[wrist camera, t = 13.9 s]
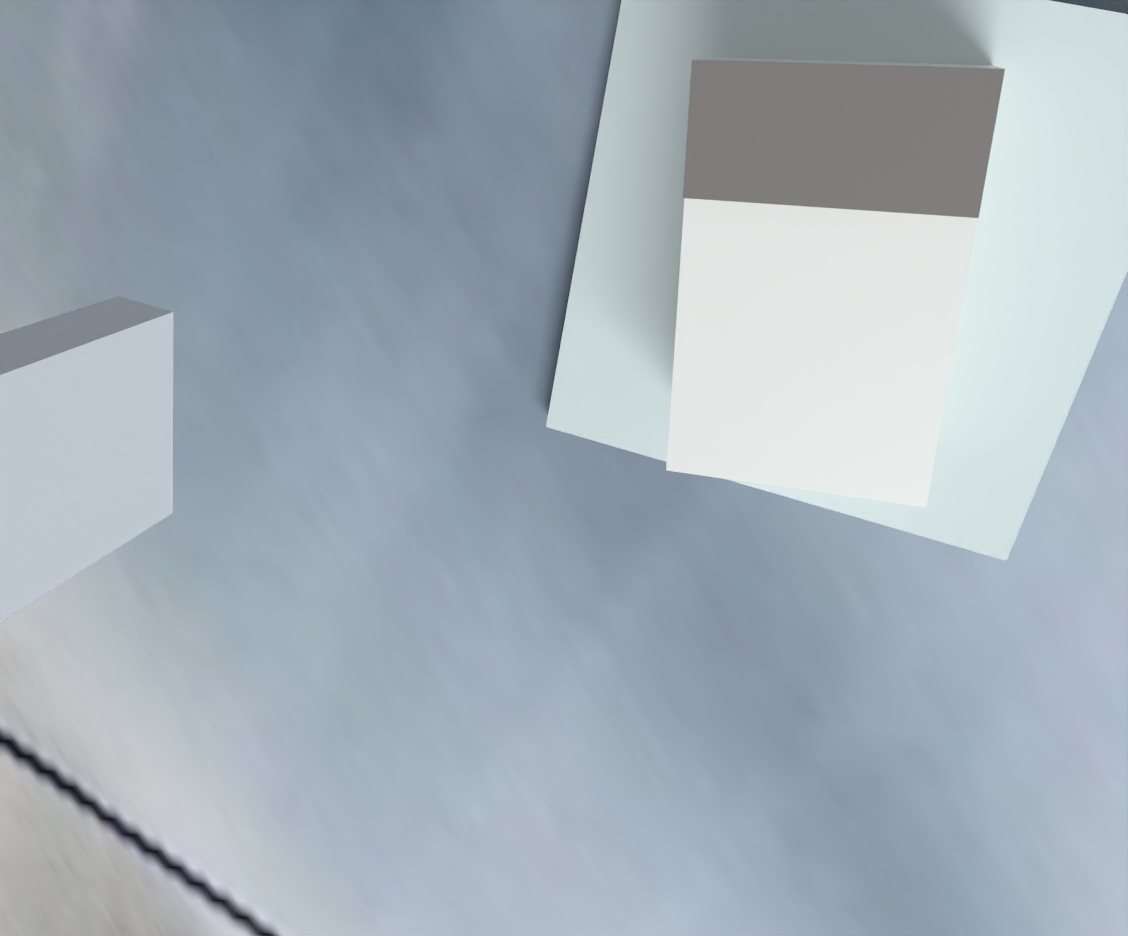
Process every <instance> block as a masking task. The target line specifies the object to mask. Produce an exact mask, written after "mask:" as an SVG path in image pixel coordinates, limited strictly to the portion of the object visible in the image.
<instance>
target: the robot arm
mask: <svg viewBox="0 0 1128 936" xmlns="http://www.w3.org/2000/svg"><path fill="white" fill-rule="evenodd" d="M172 513H173V312H172V311H168V310H165V309H161V308H158V307H154V306H151V305H147V304H144V303H140V302H137V301H133V300H130V299H126V298H123V297H119V296H118V297H115V298H112V299H109V300H106V301H103V302H99V303H96V304H93V305H90V306H87V307H84V308H81V309H78V310H75V311H71V312H68V313H65V314H62V315H59V316H56V317H53V318H50V319H46V320H43V321H40V322H37V323H34V324H31V325H28V326H25V327H21V328H18V329H15V330H12V331H9V332H6V333H3V334H0V622H2V621H4V620H5V619H7V618H8V617H10V616H11V615H13V614H15V613H16V612H18V611H19V610H21V609H22V608H24V607H26V606H27V605H29V604H30V603H32V602H33V601H35V600H37V599H38V598H40V597H41V596H43V595H44V594H46V593H48V592H49V591H51V590H52V589H54V588H55V587H57V586H59V585H60V584H62V583H63V582H65V581H66V580H68V579H70V578H71V577H73V576H74V575H76V574H77V573H79V572H81V571H82V570H84V569H85V568H87V567H88V566H90V565H92V564H93V563H95V562H96V561H98V560H99V559H101V558H103V557H104V556H106V555H107V554H109V553H110V552H112V551H114V550H115V549H117V548H118V547H120V546H121V545H123V544H124V543H126V542H128V541H129V540H131V539H132V538H134V537H135V536H137V535H139V534H140V533H142V532H143V531H145V530H146V529H148V528H150V527H151V526H153V525H154V524H156V523H157V522H159V521H161V520H162V519H164V518H165V517H167V516H168V515H170V514H172Z"/></svg>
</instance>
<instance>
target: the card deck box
mask: <svg viewBox="0 0 1128 936" xmlns="http://www.w3.org/2000/svg"><path fill="white" fill-rule="evenodd" d="M1004 72H1005V69H1003V68H1000V67H997V66H993V65H964V64H929V63H894V62H859V61H824V60H788V59H753V58H712V59H696V60H692V65H691V80H690V96H689V111H688V126H687V141H686V156H685V172H684V187H683V198H684V212H683V227H682V242H681V257H680V273H679V288H678V303H677V318H676V333H675V348H674V363H673V378H672V393H671V408H670V423H669V438H668V453H667V468H666V470H668V471H675V472H682V473H689V474H696V475H703V476H709V477H716V478H723V479H730V480H737V481H744V482H751V483H758V484H765V485H772V486H779V487H786V488H793V489H800V490H807V491H814V492H821V493H828V494H835V495H842V496H848V497H855V498H862V499H869V500H876V501H883V502H890V503H897V504H904V505H911V506H918V507H925V508H926V507H927V501H928V496H929V490H930V485H931V479H932V473H933V468H934V462H935V456H936V451H937V445H938V440H939V434H940V428H941V423H942V417H943V411H944V406H945V400H946V395H947V389H948V383H949V378H950V372H951V366H952V361H953V355H954V350H955V344H956V338H957V333H958V327H959V321H960V316H961V310H962V305H963V299H964V293H965V288H966V282H967V276H968V271H969V265H970V260H971V254H972V248H973V243H974V237H975V231H976V226H977V220H978V218H979V213H980V207H981V202H982V196H983V190H984V185H985V179H986V173H987V168H988V162H989V157H990V151H991V145H992V140H993V134H994V129H995V123H996V117H997V112H998V106H999V100H1000V95H1001V89H1002V84H1003V78H1004Z"/></svg>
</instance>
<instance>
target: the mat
mask: <svg viewBox="0 0 1128 936" xmlns="http://www.w3.org/2000/svg"><path fill="white" fill-rule="evenodd" d="M712 58H753V59H788V60H824V61H859V62H894V63H929V64H964V65H993V66H997V67H1000V68H1003V69H1005V72H1004V78H1003V84H1002V89H1001V95H1000V100H999V106H998V112H997V117H996V123H995V129H994V134H993V140H992V145H991V151H990V157H989V162H988V168H987V173H986V179H985V185H984V190H983V196H982V202H981V207H980V213H979V218H978V220H977V226H976V231H975V237H974V243H973V248H972V254H971V260H970V265H969V271H968V276H967V282H966V288H965V293H964V299H963V305H962V310H961V316H960V321H959V327H958V333H957V338H956V344H955V350H954V355H953V361H952V366H951V372H950V378H949V383H948V389H947V395H946V400H945V406H944V411H943V417H942V423H941V428H940V434H939V440H938V445H937V451H936V456H935V462H934V468H933V473H932V479H931V485H930V490H929V496H928V501H927V507H926V508H925V507H918V506H911V505H904V504H897V503H890V502H883V501H876V500H869V499H862V498H855V497H848V496H842V495H835V494H828V493H821V492H814V491H807V490H800V489H793V488H786V487H779V486H772V485H765V484H758V483H751V482H744V481H737V480H731V481H734V482H738V483H741V484H744V485H748V486H751V487H755V488H758V489H762V490H765V491H768V492H772V493H775V494H779V495H782V496H786V497H789V498H792V499H796V500H799V501H803V502H806V503H810V504H813V505H816V506H820V507H823V508H827V509H830V510H834V511H837V512H840V513H844V514H847V515H851V516H854V517H858V518H861V519H864V520H868V521H871V522H875V523H878V524H882V525H885V526H888V527H892V528H895V529H899V530H902V531H906V532H909V533H912V534H916V535H919V536H923V537H926V538H930V539H933V540H937V541H940V542H943V543H947V544H950V545H954V546H957V547H961V548H964V549H967V550H971V551H974V552H978V553H981V554H985V555H988V556H991V557H995V558H998V559H1002V560H1005V561H1006V560H1007V558H1008V556H1009V553H1010V551H1011V548H1012V546H1013V544H1014V541H1015V539H1016V537H1017V534H1018V532H1019V529H1020V527H1021V525H1022V522H1023V520H1024V517H1025V515H1026V513H1027V510H1028V508H1029V505H1030V503H1031V501H1032V498H1033V496H1034V493H1035V491H1036V489H1037V486H1038V484H1039V481H1040V479H1041V477H1042V474H1043V472H1044V469H1045V467H1046V465H1047V462H1048V460H1049V458H1050V455H1051V453H1052V450H1053V448H1054V446H1055V443H1056V441H1057V438H1058V436H1059V434H1060V431H1061V429H1062V426H1063V424H1064V422H1065V419H1066V417H1067V414H1068V412H1069V410H1070V407H1071V405H1072V402H1073V400H1074V398H1075V395H1076V393H1077V391H1078V388H1079V386H1080V383H1081V381H1082V379H1083V376H1084V374H1085V371H1086V369H1087V367H1088V364H1089V362H1090V359H1091V357H1092V355H1093V352H1094V350H1095V347H1096V345H1097V343H1098V340H1099V338H1100V335H1101V333H1102V331H1103V328H1104V326H1105V323H1106V321H1107V319H1108V316H1109V314H1110V312H1111V309H1112V307H1113V304H1114V302H1115V300H1116V297H1117V295H1118V292H1119V290H1120V288H1121V285H1122V283H1123V280H1124V278H1125V276H1126V273H1127V271H1128V14H1125V13H1119V12H1113V11H1107V10H1102V9H1096V8H1090V7H1085V6H1079V5H1073V4H1068V3H1062V2H1056V1H1051V0H622V1H621V6H620V12H619V18H618V23H617V29H616V34H615V40H614V46H613V51H612V57H611V63H610V68H609V74H608V80H607V85H606V91H605V97H604V102H603V108H602V113H601V119H600V125H599V130H598V136H597V142H596V147H595V153H594V159H593V164H592V170H591V175H590V181H589V187H588V192H587V198H586V204H585V209H584V215H583V221H582V226H581V232H580V238H579V243H578V249H577V254H576V260H575V266H574V271H573V277H572V283H571V288H570V294H569V300H568V305H567V311H566V316H565V322H564V328H563V333H562V339H561V345H560V350H559V356H558V362H557V367H556V373H555V379H554V384H553V390H552V395H551V401H550V407H549V412H548V418H547V424H546V427H549V428H552V429H556V430H559V431H563V432H566V433H569V434H573V435H576V436H580V437H583V438H587V439H590V440H593V441H597V442H600V443H604V444H607V445H611V446H614V447H617V448H621V449H624V450H628V451H631V452H635V453H638V454H641V455H645V456H648V457H652V458H655V459H659V460H662V461H665V462H667V453H668V438H669V423H670V408H671V393H672V378H673V363H674V348H675V333H676V318H677V303H678V288H679V273H680V257H681V242H682V227H683V212H684V198H683V187H684V172H685V156H686V141H687V126H688V111H689V96H690V80H691V65H692V60H696V59H712ZM727 480H730V479H727Z"/></svg>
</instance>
